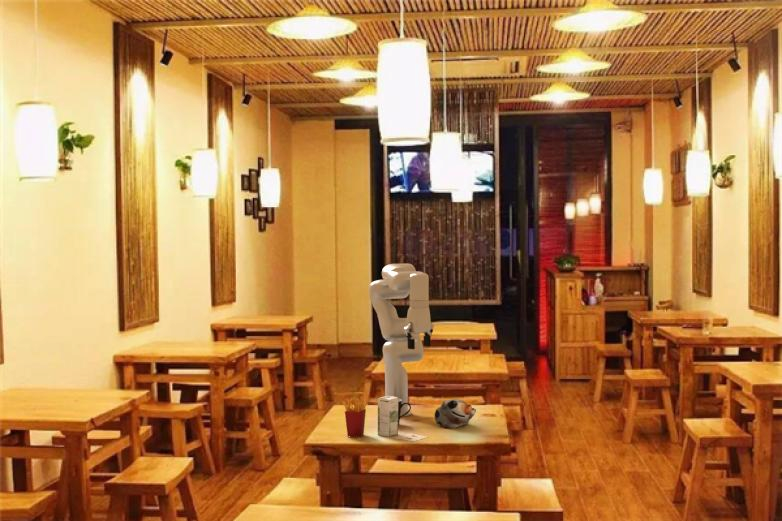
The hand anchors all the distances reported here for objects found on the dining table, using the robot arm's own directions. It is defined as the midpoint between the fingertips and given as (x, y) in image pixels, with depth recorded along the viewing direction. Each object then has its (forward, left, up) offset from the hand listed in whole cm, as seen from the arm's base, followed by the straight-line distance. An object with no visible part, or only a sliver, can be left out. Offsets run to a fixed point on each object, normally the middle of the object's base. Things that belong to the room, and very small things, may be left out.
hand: (419, 347), depth 354 cm
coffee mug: (-11, -2, -32) cm, 34 cm away
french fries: (-12, -25, -32) cm, 43 cm away
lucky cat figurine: (+9, +11, -32) cm, 35 cm away
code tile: (+8, -15, -32) cm, 36 cm away
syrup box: (-2, -17, -32) cm, 36 cm away
